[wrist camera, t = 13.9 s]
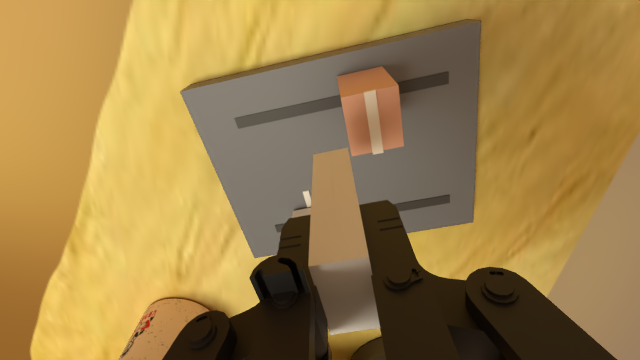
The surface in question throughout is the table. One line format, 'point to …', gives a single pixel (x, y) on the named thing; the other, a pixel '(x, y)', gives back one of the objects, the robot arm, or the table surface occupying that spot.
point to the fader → (371, 111)
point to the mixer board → (331, 134)
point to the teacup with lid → (160, 328)
